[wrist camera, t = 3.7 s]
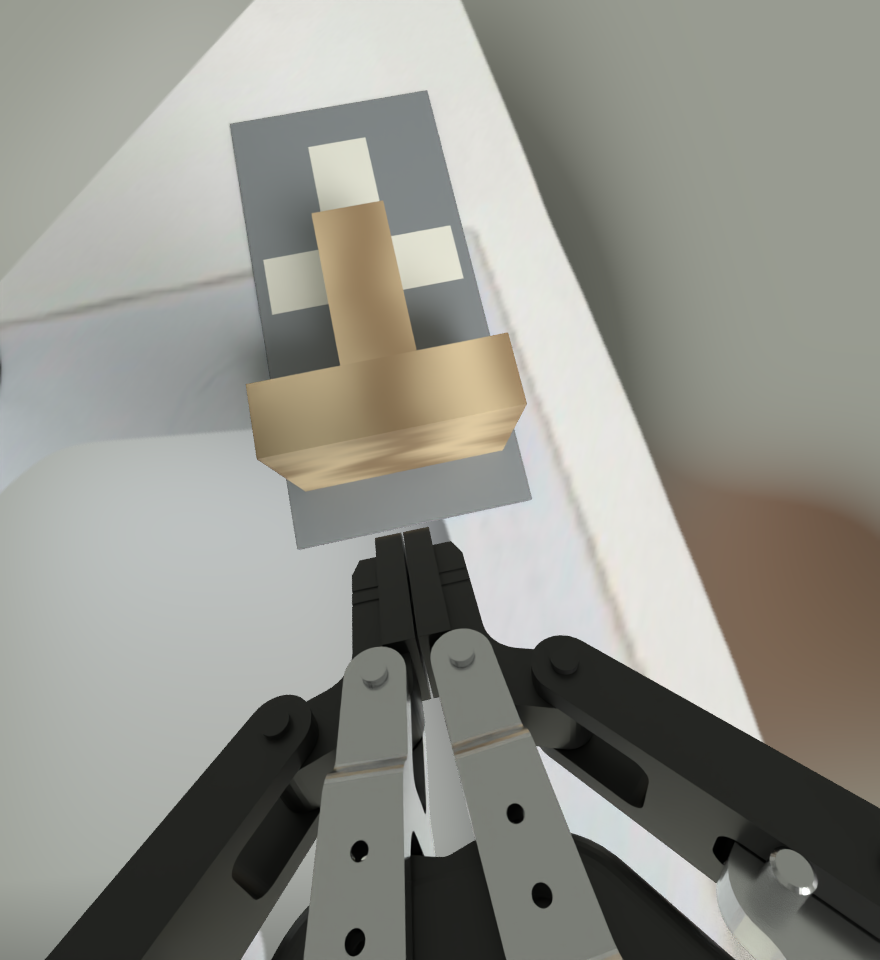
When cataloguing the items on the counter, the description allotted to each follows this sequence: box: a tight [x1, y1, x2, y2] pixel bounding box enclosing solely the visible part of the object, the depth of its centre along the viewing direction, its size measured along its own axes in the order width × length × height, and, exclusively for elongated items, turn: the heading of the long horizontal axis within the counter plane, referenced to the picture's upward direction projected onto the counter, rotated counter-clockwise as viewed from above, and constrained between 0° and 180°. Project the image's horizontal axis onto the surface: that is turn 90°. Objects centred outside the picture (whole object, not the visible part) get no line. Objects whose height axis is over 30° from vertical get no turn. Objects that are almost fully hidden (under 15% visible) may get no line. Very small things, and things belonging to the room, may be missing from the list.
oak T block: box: [246, 200, 527, 492], centre depth 26 cm, size 12×12×8 cm
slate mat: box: [230, 90, 532, 550], centre depth 32 cm, size 14×30×1 cm, turn 12°
